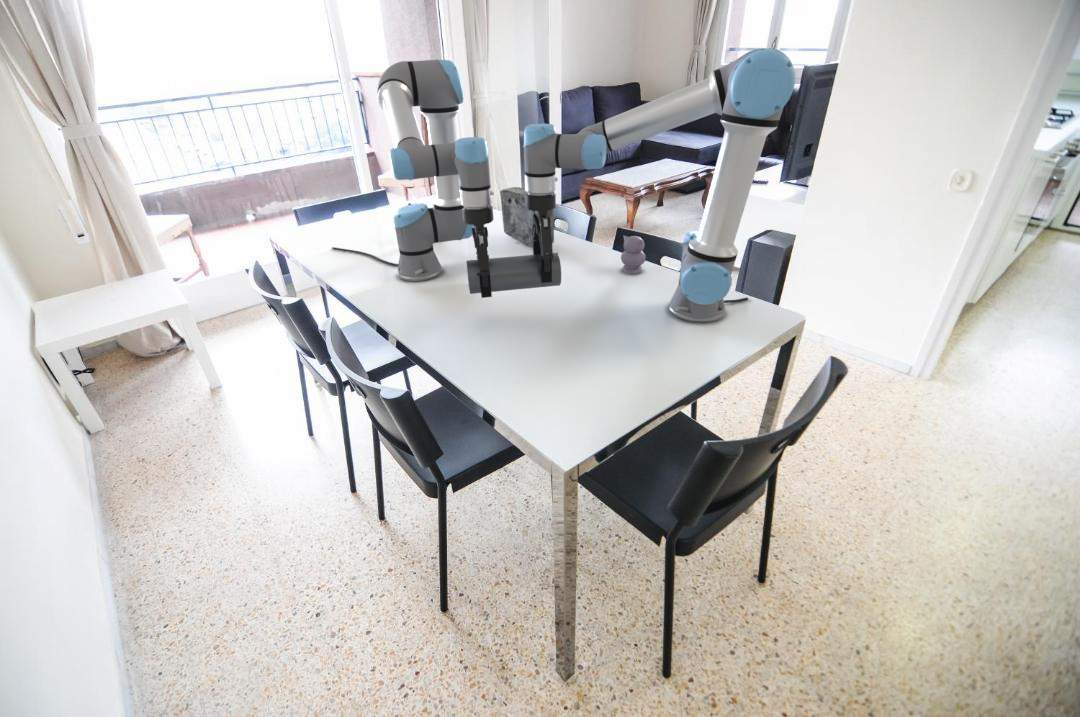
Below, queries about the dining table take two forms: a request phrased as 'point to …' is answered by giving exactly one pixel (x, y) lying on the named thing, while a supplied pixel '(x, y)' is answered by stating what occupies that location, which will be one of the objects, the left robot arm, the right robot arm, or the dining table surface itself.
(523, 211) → the concrete block
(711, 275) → the right robot arm
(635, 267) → the cat figurine
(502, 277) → the rod
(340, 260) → the dining table surface
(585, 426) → the dining table surface
